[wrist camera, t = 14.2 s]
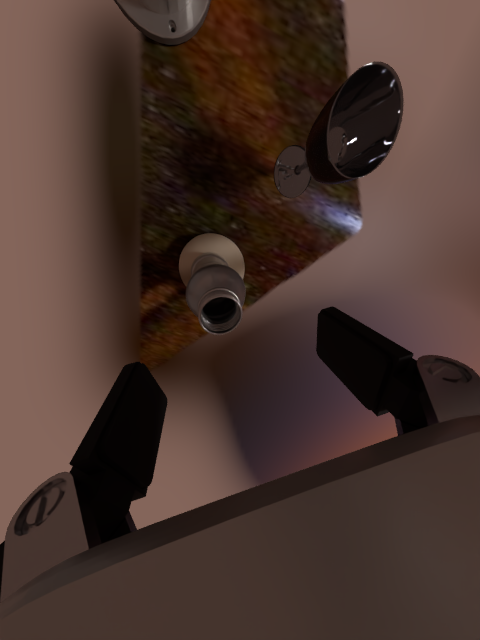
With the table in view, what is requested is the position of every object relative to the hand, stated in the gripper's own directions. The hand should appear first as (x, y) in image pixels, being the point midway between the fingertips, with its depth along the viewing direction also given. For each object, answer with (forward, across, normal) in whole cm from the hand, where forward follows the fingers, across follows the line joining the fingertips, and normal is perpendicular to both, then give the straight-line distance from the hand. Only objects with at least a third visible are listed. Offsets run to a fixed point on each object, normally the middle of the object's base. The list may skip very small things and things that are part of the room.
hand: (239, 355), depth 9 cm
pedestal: (+28, 0, +1) cm, 28 cm away
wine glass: (+29, -18, -11) cm, 36 cm away
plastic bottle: (+26, +1, 0) cm, 26 cm away
